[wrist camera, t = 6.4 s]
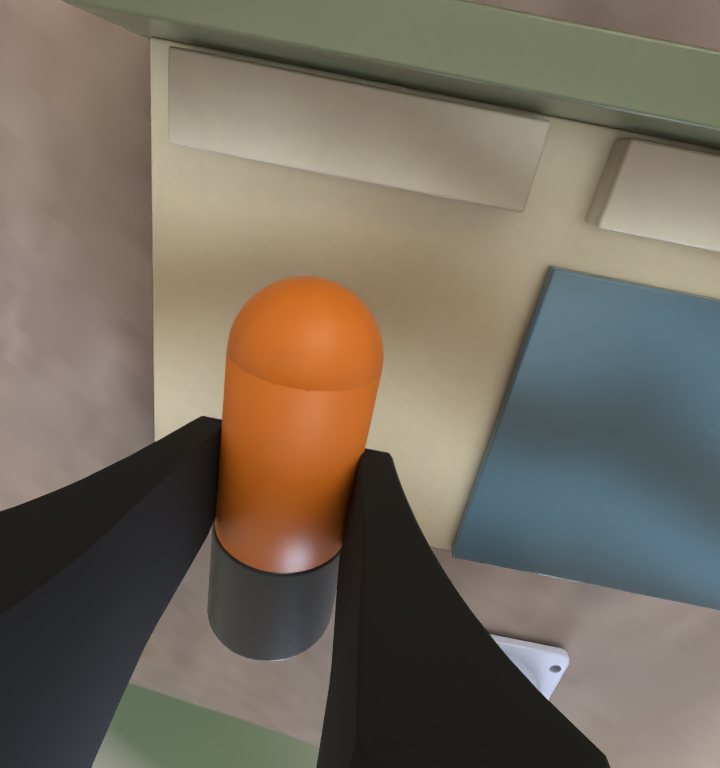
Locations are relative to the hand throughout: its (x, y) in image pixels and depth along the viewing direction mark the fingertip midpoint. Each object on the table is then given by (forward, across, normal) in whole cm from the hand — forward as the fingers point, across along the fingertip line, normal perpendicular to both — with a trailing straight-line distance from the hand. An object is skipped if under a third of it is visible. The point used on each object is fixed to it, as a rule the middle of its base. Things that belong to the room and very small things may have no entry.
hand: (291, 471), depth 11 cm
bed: (+7, -5, -2) cm, 9 cm away
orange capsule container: (+1, 0, 0) cm, 1 cm away
